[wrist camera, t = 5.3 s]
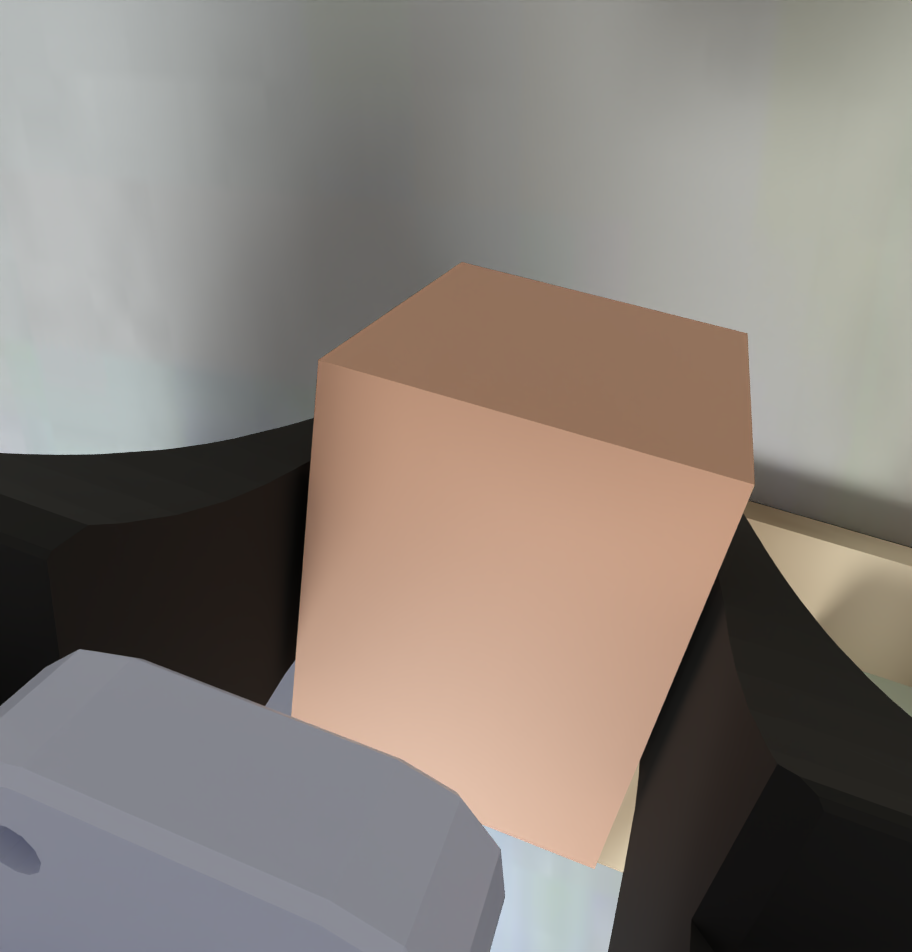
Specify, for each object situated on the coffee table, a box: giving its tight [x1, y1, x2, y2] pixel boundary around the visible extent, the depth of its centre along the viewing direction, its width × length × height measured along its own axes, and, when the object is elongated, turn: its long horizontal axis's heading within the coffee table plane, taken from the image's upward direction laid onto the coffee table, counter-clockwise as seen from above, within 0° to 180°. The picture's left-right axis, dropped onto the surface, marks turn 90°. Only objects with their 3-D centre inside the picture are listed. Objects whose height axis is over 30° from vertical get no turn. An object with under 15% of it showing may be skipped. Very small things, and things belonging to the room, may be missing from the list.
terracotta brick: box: [291, 262, 755, 869], centre depth 11 cm, size 4×6×5 cm
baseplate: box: [597, 501, 912, 872], centre depth 23 cm, size 15×15×1 cm
